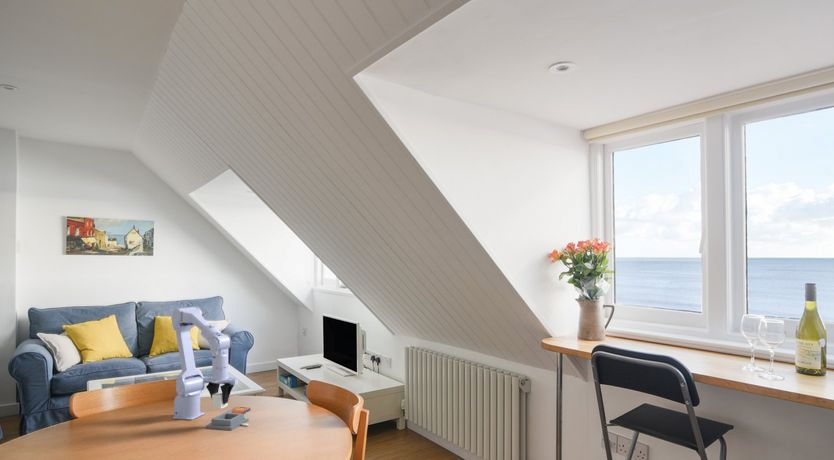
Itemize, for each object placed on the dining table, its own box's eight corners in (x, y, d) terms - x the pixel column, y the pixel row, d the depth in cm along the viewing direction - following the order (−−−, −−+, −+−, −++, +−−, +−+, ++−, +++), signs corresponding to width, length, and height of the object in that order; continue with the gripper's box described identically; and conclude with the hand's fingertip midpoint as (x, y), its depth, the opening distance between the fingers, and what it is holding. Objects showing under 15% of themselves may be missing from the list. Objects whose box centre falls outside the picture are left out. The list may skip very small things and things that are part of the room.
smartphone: (214, 421, 195) (214, 418, 195) (235, 409, 210) (235, 406, 210) (231, 422, 194) (231, 420, 194) (251, 410, 209) (251, 407, 209)
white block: (212, 408, 188) (212, 394, 188) (219, 405, 192) (219, 391, 192) (221, 408, 187) (221, 395, 187) (227, 405, 191) (228, 392, 191)
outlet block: (206, 428, 186) (206, 420, 186) (224, 418, 197) (224, 411, 197) (239, 431, 183) (239, 422, 183) (256, 421, 193) (256, 413, 193)
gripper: (197, 368, 188) (197, 404, 188) (230, 370, 185) (229, 407, 184) (209, 364, 195) (209, 399, 194) (241, 366, 191) (241, 401, 191)
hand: (220, 402), depth 190 cm, fingers closed on white block, 4 cm apart
